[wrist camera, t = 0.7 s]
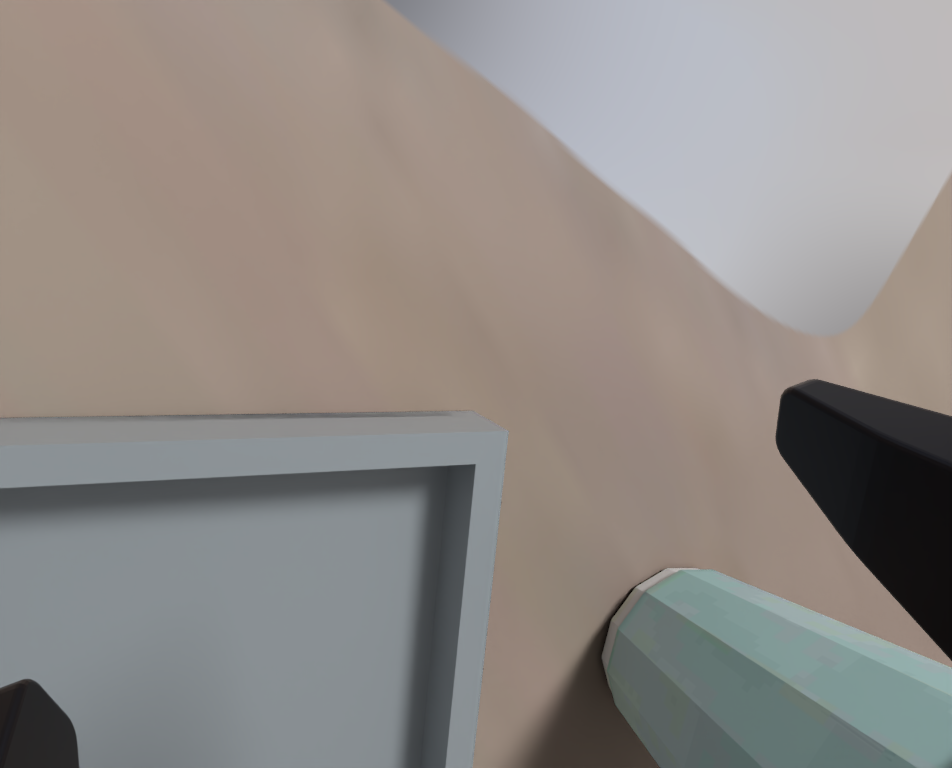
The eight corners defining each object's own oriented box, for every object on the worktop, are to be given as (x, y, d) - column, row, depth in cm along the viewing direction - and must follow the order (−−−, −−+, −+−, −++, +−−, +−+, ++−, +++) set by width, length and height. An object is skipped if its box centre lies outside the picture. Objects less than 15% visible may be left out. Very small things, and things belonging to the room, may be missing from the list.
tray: (432, 826, 27) (460, 880, 25) (-101, 979, 20) (-128, 1073, 18) (472, 410, 24) (508, 430, 22) (-137, 420, 17) (-174, 451, 15)
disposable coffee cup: (708, 466, 30) (1182, 673, 16) (787, 634, 34) (1209, 901, 21) (510, 646, 27) (881, 1057, 14) (624, 800, 32) (985, 1221, 19)
